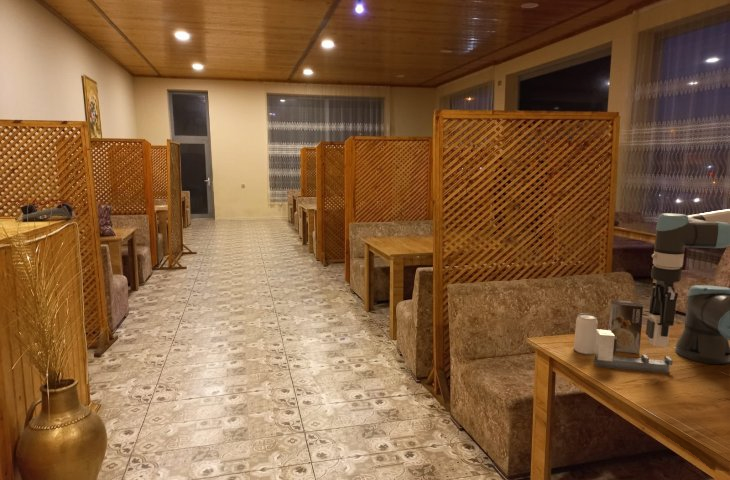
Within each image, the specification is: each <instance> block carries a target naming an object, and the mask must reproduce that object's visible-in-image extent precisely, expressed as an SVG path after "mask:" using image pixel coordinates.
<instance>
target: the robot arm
mask: <svg viewBox="0 0 730 480" xmlns="http://www.w3.org/2000/svg"><path fill="white" fill-rule="evenodd" d="M729 246H730V208H728V209H722V210H715V211H709V212H704V213H703V212H702V213H696V214H690V215H689V214H688V215H686V214H683V213H670V212H665V213H664V212H663V213H661V214H659V215H658V217H657V221H656V226H655V238H654V248H653V254H651V258H652V264H653V265H652V267H651V272H650V273H651V275H650V278H651V279H652V280H654V281H652V282H651V294H650V295H651V297H650V305H649V314H650V315H660V323H657V324H658V333H657V341H656V346H655V347H662V346H663V348H668V347H667V343H668V344H669V341H668V335H669V336H670V333H669V326H670V327H673V326H674V324H675V323H674V322H675V317H676V316H675V314H676V305H677V299H678V296H679V294H678V292H675V287H674V284H675V283H678V282H681V279H682V272H683V271H682V267H683V265H684V257H685V248H705V249H714V250H715V249H724V248H727V247H729ZM686 301H687V303H686V310H685V311H686V312H685V320H684V327H683V330H682V332H681V334H680V336H679V338H678V340H677V341H676V343H675V348H674V349H675V352H676V354H678V355H679V356H681V357H682V358H683V357H684V358H686V359H689V360H691V361H695V362H700V363H703V364H709V365H710V364H712V365H725V364H726V365H727V364H729V363H730V342H729V341H730V287H726V286H720V285H708V284H707V285H704V284H703V285H699V284H697V285H692V286H690V288H689V289H688V293H687V300H686Z"/></svg>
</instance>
